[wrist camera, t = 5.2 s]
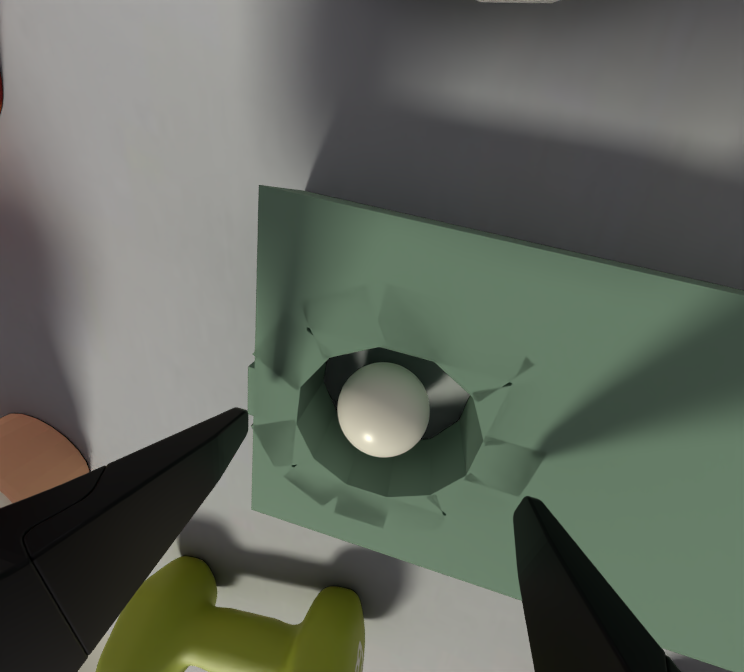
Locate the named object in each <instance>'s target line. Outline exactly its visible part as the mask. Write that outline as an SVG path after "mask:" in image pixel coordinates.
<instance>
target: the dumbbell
mask: <svg viewBox="0 0 744 672" xmlns="http://www.w3.org/2000/svg"><path fill="white" fill-rule="evenodd" d="M216 598H217V586H216V582H215V579H214V576H213V574H212V572H211V570H210V568H209V567H208V565H207V564H206V563H205V562H204V561H202V560H200V559H197V558H194V557H189V556H182V557H179V558H177V559H175V560H173V561H171V562H170V563H168V564H167V565H166V566H164V567H163V568H161V569H160V570H159V571H157V572H156V573H155V574H153V575H152V576H151V577H149V578H148V579H147V580H145V581H144V582H143V584H142V585H141V586H140V588H139V589H138V590H137V592H136V593H135V594H134V596H133V597H132V598H131V600H130V601H129V602H128V604H127V605H126V607H125V608H124V609H123V611H122V612H121V614H120V616H119V618H118V620H117V622H116V624H115V626H114V628H113V630H112V632H111V634H110V637H109V639H108V641H107V643H106V645H105V647H104V649H103V652H102V654H101V656H100V659H99V662H98V665H97V669H96V672H184V671H185V670H186V669H187V668H188V666H190V665H192V666H197V667H199V668H202V669H204V670H206V671H208V672H362V671H363V661H364V648H365V626H364V618H363V612H362V606H361V603H360V599H359V597H358V595H357V594H356V593H355V592H354V591H352V590H350V589H347V588H342V587H336V586H331V587H327V588H325V589H323V590H322V591H321V592H320V593H319V594H318V595H317V597H316V598H315V600H314V601H313V603H312V605H311V607H310V609H309V611H308V612H307V614H306V616H305V618H304V620H303V622H301V623H300V624H297V625H291V624H287V623H285V622H282V621H280V620H277V619H275V618H271V617H266V616H262V615H258V614H254V613H250V612H245V611H241V610H237V609H232V608H222V607H216V606H215V604H216Z"/></svg>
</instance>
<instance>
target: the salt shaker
mask: <svg viewBox="0 0 744 672" xmlns="http://www.w3.org/2000/svg"><path fill="white" fill-rule="evenodd" d="M86 473H89V469H88V466H87V463H86V461H85V460H84V458H83V457H82V455H81V454H80V452H79V451H78V450H77V449H76V448H75V447H74V446H73V445H72V443H71V442H70V441H69V440H68V439H67V438H65V437H64V436H63V435H62V434H60V433H59V432H58V431H56V430H55V429H54V428H52V427H51V426H49V425H47V424H45V423H44V422H42V421H40V420H38V419H36V418H33V417H30V416H27V415H24V414H9V415H6V416H4V417H2V418H0V508H2V507H4V506H7V505H10V504H12V503H15V502H18V501H20V500H23V499H25V498H28V497H31V496H33V495H36V494H38V493H41V492H43V491H46V490H48V489H51V488H53V487H56V486H58V485H61V484H63V483H65V482H68V481H70V480H72V479H75V478H77V477H79V476H82V475H84V474H86Z"/></svg>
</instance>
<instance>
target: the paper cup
mask: <svg viewBox="0 0 744 672" xmlns="http://www.w3.org/2000/svg"><path fill="white" fill-rule="evenodd" d="M2 99H3V90H2V80H1V74H0V112H1V108H2Z"/></svg>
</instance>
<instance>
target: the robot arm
mask: <svg viewBox="0 0 744 672" xmlns="http://www.w3.org/2000/svg"><path fill="white" fill-rule="evenodd" d="M247 432H248V411H247V410H244V409H241V408H232V409H230V410H228V411H226V412H223V413H221V414H219V415H217V416H215V417H212V418H210V419H208V420H206V421H203V422H201V423H199V424H197V425H194V426H192V427H190V428H188V429H185V430H183V431H181V432H179V433H176V434H174V435H172V436H170V437H167V438H165V439H163V440H161V441H158V442H156V443H154V444H152V445H149V446H147V447H145V448H143V449H141V450H138V451H136V452H134V453H132V454H129V455H127V456H125V457H123V458H120V459H118V460H116V461H114V462H111V463H109V464H108V465H107V466H102V467H100V468H98V469H95V470H93V471H91V472H89V473H86V474H84V475H82V476H79V477H77V478H75V479H72V480H70V481H68V482H65V483H63V484H61V485H58V486H56V487H53V488H51V489H48V490H46V491H43V492H41V493H38V494H36V495H33V496H31V497H28V498H25V499H23V500H20V501H18V502H15V503H12V504H10V505H7V506H4V507H2V508H0V672H78V670H79V669H80V667H81V666H82V665H83V663H84V662H85V661H86V659H87V658H88V655H90V654H91V652H92V651H93V650H94V648H95V647H96V645H97V644H98V643H99V641H100V640H101V639H102V637H103V636H104V635H105V633H106V632H107V631H108V629H109V628H110V627H111V625H112V624H113V623H114V621H115V620H116V619H117V617H118V616H119V615H120V613H121V612H122V611H123V609H124V608H125V607H126V605H127V604H128V602H129V601H130V600H131V598H132V597H133V596H134V594H135V593H136V592H137V590H138V589H139V588H140V586H141V585H142V584H143V582H144V581H145V580H146V578H147V577H148V576H149V574H150V573H151V571H152V570H153V569H154V567H155V566H156V565H157V563H158V562H159V561H160V559H161V558H162V557H163V555H164V554H165V553H166V551H167V550H168V549H169V547H170V546H171V545H172V543H173V542H174V540H175V539H176V538H177V536H178V535H179V534H180V532H181V531H182V530H183V528H184V527H185V526H186V524H187V523H188V522H189V520H190V519H191V518H192V516H193V515H194V514H195V512H196V511H197V509H198V508H199V507H200V505H201V504H202V503H203V501H204V500H205V499H206V497H207V496H208V495H209V493H210V492H211V491H212V489H213V488H214V487H215V485H216V484H217V482H218V481H219V480H220V478H221V476H222V475H223V473H224V472H225V470H226V468H227V467H228V465H229V463H230V462H231V460H232V458H233V457H234V455H235V453H236V452H237V450H238V448H239V447H240V445H241V443H242V442H243V440H244V438H245V437H246V435H247ZM513 527H514V539H515V551H516V563H517V573H518V580H519V587H520V592H521V598H522V603H523V609H524V614H525V620H526V625H527V631H528V636H529V642H530V647H531V653H532V659H533V664H534V670H535V672H681V671H680V670H679V669H678V668H677V666H676V665H675V664H674V663H673V661H672V660H671V659H670V658H669V657H668V656H665V652H664V651H663V649H662V648H661V647H660V646H659V644H658V643H657V642H656V641H655V639H654V638H653V637H652V636H651V635H650V633H649V632H648V631H647V630H646V628H645V627H644V626H643V625H642V623H641V622H640V621H639V620H638V619H637V617H636V616H635V615H634V614H633V612H632V611H631V610H630V609H629V607H628V606H627V605H626V604H625V603H624V601H623V600H622V599H621V598H620V596H619V595H618V594H617V593H616V591H615V590H614V589H613V588H612V587H611V585H610V584H609V583H608V582H607V580H606V579H605V578H604V577H603V575H602V574H601V573H600V572H599V571H598V569H597V568H596V567H595V566H594V564H593V563H592V562H591V561H590V559H589V558H588V557H587V556H586V555H585V553H584V552H583V551H582V550H581V548H580V547H579V546H578V545H577V543H576V542H575V541H574V540H573V539H572V537H571V536H570V535H569V534H568V532H567V531H566V530H565V529H564V527H563V526H562V525H561V524H560V523H559V521H558V520H557V519H556V518H555V516H554V515H553V514H552V513H551V511H550V510H549V509H548V508H547V507H546V505H545V504H544V503H543V502H542V501H541V500H540V499H537V498H534V497H530V496H525V497H524V498H523V499H522V501H521V502H520V504H519V505H518V507H517V508H516V510H515V511H514V514H513Z"/></svg>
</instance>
